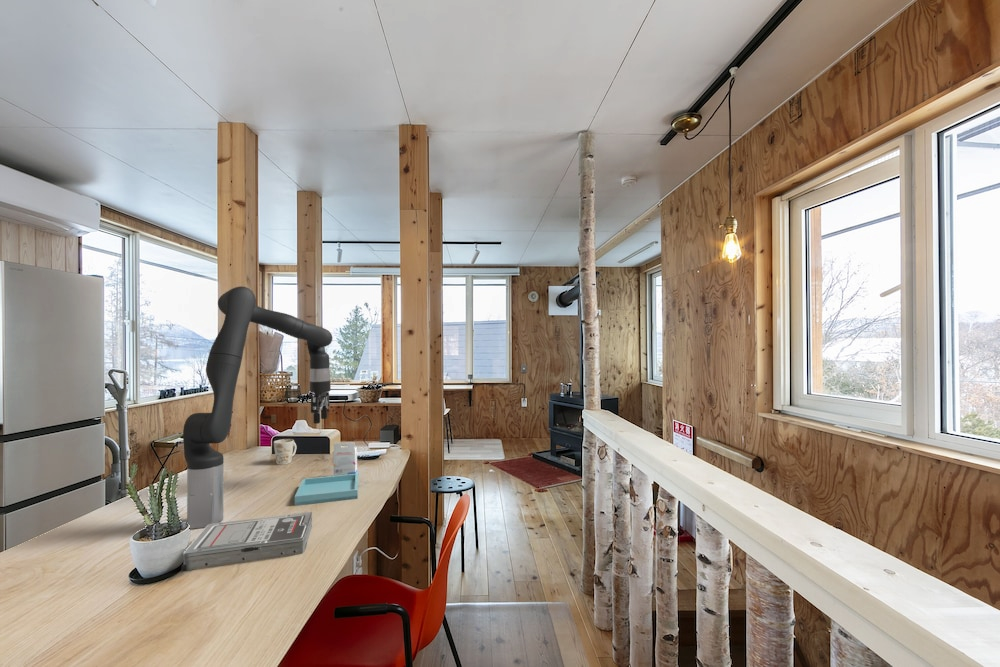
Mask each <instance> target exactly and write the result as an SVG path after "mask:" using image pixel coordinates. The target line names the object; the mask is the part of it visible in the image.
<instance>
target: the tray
mask: <svg viewBox="0 0 1000 667" xmlns="http://www.w3.org/2000/svg"><path fill="white" fill-rule="evenodd" d="M358 493H359V473H357V474H348V475H338V476H334V475H328V476H321V477H320V476H319V477H317V476H316V477H309V478H307V477H306V478H302V480H301V482H300V485H299V487H298V489H297V490H296V493H295V495H294V506H302V505H303V506H305V505H314V504H320V503H322V504H323V503H328V502H329V503H330V502H331V503H332V502H339V501H348V500H355V499H356V500H357V499H358Z"/></svg>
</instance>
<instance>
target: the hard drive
mask: <svg viewBox="0 0 1000 667" xmlns="http://www.w3.org/2000/svg"><path fill="white" fill-rule="evenodd" d="M312 527H313V512H312V511H308V512H307V511H306V512H301V513H300V512H299V513H290V514H281V515H273V516H266V517H265V516H263V517H257V518H256V517H255V518H248V519H247V518H246V519H240V520H239V519H238V520H229V521H220V522H219V523H213V524H209V525H207V526H206V527H203V528H204V529H203V530H202V531H201V532H200V533H199V534H198V535H197V536H196V538H194V540H193V541H192V542H191V543H190V544H189V546H188V547H187V548H186V549H185V550H186V551H185V550H184V551H183V564H182V565H181V567H180V570H181V572H183V571H191V570H198V569H205V568H214V567H220V566H226V565H227V566H228V565H233V564H234V565H235V564H242V563H247V562H255V561H263V560H269V559H276V558H277V559H278V558H282V557H290V556H291V557H292V556H298V555H302V554H304V553H305V552H306V549H307V545H308V543H309V538H310V535H311V532H312V529H313V528H312Z"/></svg>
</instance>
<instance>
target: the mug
mask: <svg viewBox="0 0 1000 667" xmlns="http://www.w3.org/2000/svg"><path fill="white" fill-rule="evenodd" d="M297 447H298V446H297V444H296V442H295V439H293V438H283V439H278V440H274V441H273V448H274V449H273V450H274V455H275V461H276V464H277V465H288V464H291V463H292V459H293V457H294V456H295V455H296V451H297Z"/></svg>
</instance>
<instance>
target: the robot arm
mask: <svg viewBox="0 0 1000 667" xmlns="http://www.w3.org/2000/svg"><path fill="white" fill-rule="evenodd" d="M217 305H218V306H217V307H218V308H219V311H220V312H221V313H222V314H224V315H225V316H224V321H223V324H222V326H221V329H220V330H219V332H218V333H217V335H216V338H215V339H214V341H213V343H212V345H211V347H210V349H209V353H208V357H207V361H206V367H205V374H206V377H207V380H208V383H209V384H210V387H211V390H212V392H213V405H212V410H211V412H196V413H192V414H190V415H189V416H188V417H187V418H186V420H185V422H184V425H183V428H182V429H183V430H182V433H183V434H182V436H183V437H182V438H183V440H182V441H183V442H182V443H183V454H184V456H183V457H184V460H185V462H186V467H187V468H186V469H187V471H186V474H187V475H186V476H187V477H186V482H187V483H186V519H187V520H186V523H187V522H188V524H189V525H190V529H189V530H192V529H199V528H205V527H206V526H207V525H209V524H213V523H221V522H223V520H224V467H225V465H224V459H225V458H224V454H223V453H221V452H220V451H217V450H216V449H214V447H212V446H211V444H220V443H223V442H224V441H225V440H226V438H228V435H229V433H230V429H231V424H232V419H233V416H232V415H233V407H234V400H235V393H236V387H237V382H238V377H239V373H240V370H241V365H242V361H243V355H244V350H245V345H246V339H247V334H248V329H249V325H250V323H253V324H258V325H260V326H263V327H267V328H269V329H272V330H275V331H278V332H280V333H282V334H285V335H288V336H290V337H293V338H294V339H299V340H305V341H306V346H307V350H308V354H309V364H310V365H309V368H310V369H309V393H312V394H314V396H311V397H310V414H313V424H315V425H316V424H321V419H322V420H327V419H328V409H329V407H330V391H331V387H332V386H331V370H330V366H331V365H330V364H331V363H330V355H329V353H327V352H326V347H329V345H330V344H331V343H332V342H333V334H332V332H330V330H328V329H327V328H325V327H322V326H318V325H315V324H313V323H309V322H306V321H305V320H302V319H301V318H298V317H296V316H294V315H292V314H289V313H288V314H287V313H284V312H279V311H276V310H271V309H267V308H264V307H262V306H261V307H260V306H258V305H257V299H256V296H255V293H254V291H253V290H251V289H250V288H249V287H246V286H235V287H232V288H230V289H229V290H228V291H225V292H224V293H223V294H222V295H220V297H219V298H218V300H217Z"/></svg>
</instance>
